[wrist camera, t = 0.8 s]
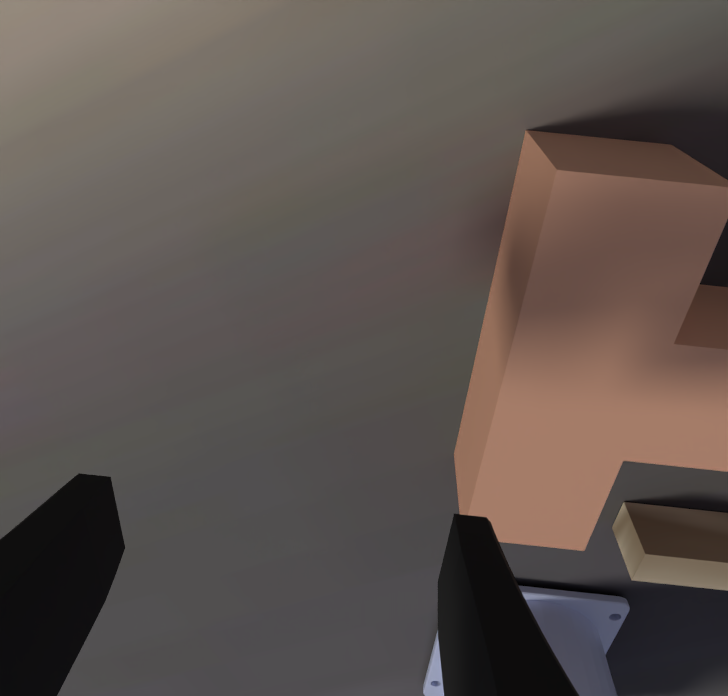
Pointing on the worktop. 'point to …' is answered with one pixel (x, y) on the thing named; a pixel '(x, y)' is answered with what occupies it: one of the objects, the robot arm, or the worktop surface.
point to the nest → (674, 545)
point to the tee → (595, 336)
